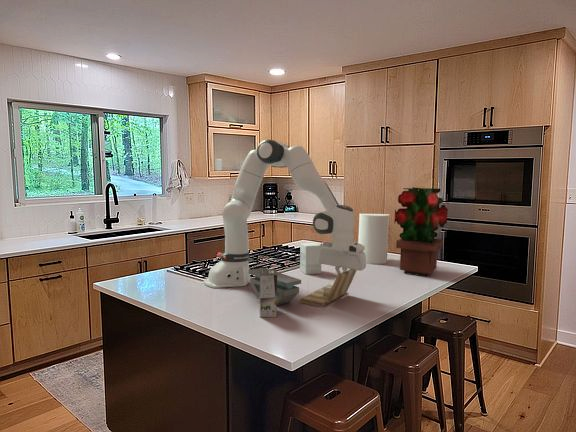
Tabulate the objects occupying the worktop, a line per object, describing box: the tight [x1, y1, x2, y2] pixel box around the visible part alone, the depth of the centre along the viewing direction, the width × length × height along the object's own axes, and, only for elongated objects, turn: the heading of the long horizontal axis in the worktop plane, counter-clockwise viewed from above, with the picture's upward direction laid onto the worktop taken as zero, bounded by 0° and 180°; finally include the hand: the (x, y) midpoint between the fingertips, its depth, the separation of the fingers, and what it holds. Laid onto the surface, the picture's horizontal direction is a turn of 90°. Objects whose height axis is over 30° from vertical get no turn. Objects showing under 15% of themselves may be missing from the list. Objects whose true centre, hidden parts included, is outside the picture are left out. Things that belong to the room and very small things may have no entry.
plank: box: [326, 269, 358, 304], centre depth 184 cm, size 18×12×1 cm
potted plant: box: [393, 186, 449, 277], centre depth 233 cm, size 22×22×45 cm
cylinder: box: [357, 213, 390, 265], centre depth 260 cm, size 17×17×28 cm
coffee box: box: [259, 268, 278, 318], centre depth 166 cm, size 9×6×16 cm
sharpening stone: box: [249, 267, 302, 306], centre depth 182 cm, size 25×8×11 cm, turn 40°
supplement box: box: [299, 242, 322, 275], centre depth 230 cm, size 9×9×15 cm
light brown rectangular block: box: [299, 283, 346, 308], centre depth 188 cm, size 24×10×6 cm, turn 149°
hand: (340, 277), depth 184 cm, fingers closed
